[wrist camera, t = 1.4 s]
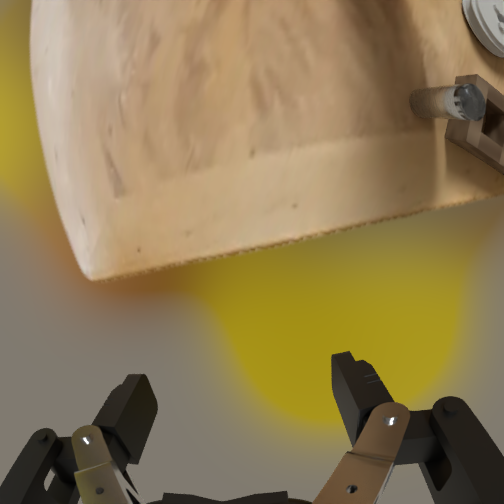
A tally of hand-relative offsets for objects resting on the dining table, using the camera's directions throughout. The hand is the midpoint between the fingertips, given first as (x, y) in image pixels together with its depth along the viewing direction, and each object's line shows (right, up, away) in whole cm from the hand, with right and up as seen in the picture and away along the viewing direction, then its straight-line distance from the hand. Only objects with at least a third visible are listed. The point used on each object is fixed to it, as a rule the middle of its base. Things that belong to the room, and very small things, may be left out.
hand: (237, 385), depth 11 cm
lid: (+39, +42, +11) cm, 58 cm away
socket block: (+36, +24, +19) cm, 47 cm away
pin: (+23, +25, +18) cm, 38 cm away
